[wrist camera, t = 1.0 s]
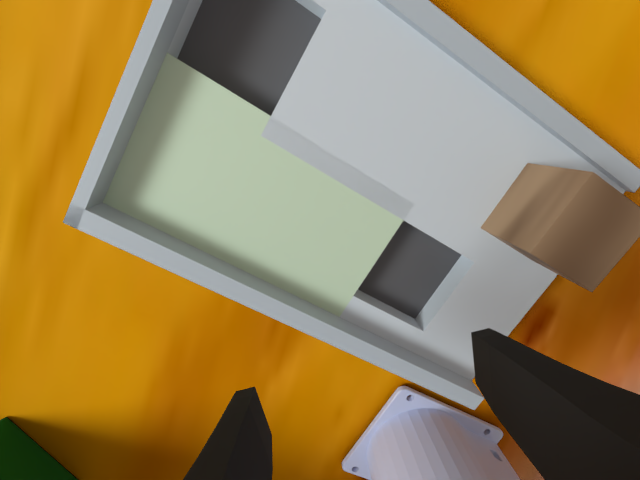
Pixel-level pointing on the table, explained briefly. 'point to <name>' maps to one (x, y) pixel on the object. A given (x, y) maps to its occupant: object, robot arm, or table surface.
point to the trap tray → (333, 172)
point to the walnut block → (566, 222)
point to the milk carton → (26, 457)
